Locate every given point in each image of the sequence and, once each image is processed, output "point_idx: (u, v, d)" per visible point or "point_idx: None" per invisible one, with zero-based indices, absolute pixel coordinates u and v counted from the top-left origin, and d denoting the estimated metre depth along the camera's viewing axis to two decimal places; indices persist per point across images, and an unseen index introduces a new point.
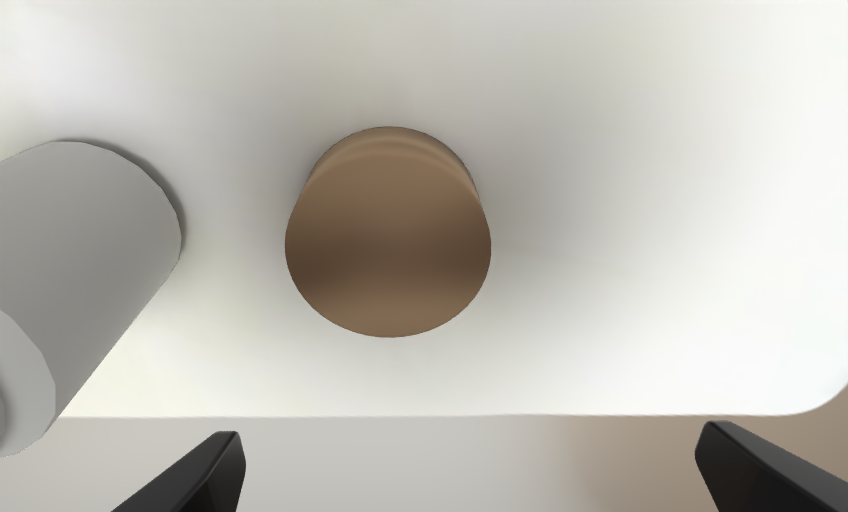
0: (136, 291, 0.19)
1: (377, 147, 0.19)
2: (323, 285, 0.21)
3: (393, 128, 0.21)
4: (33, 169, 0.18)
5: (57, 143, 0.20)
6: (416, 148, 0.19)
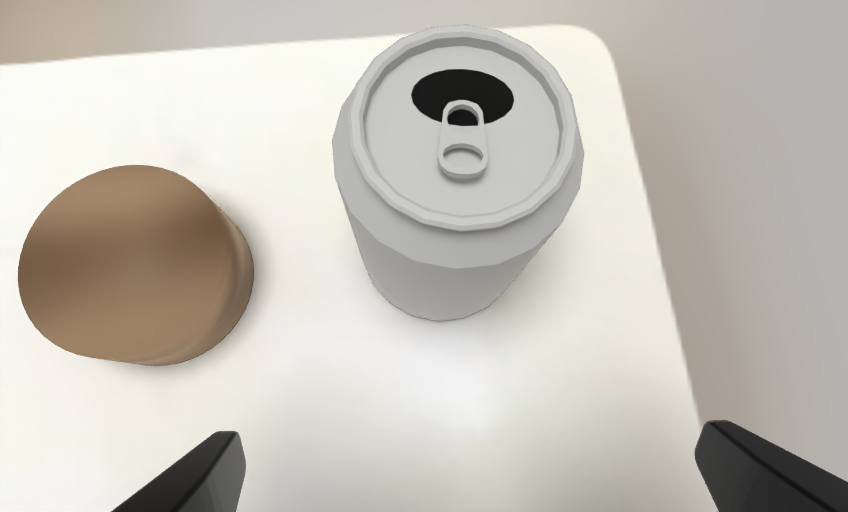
0: None
1: (143, 358, 0.20)
2: (190, 217, 0.21)
3: (160, 365, 0.23)
4: (438, 307, 0.20)
5: (455, 318, 0.23)
6: None
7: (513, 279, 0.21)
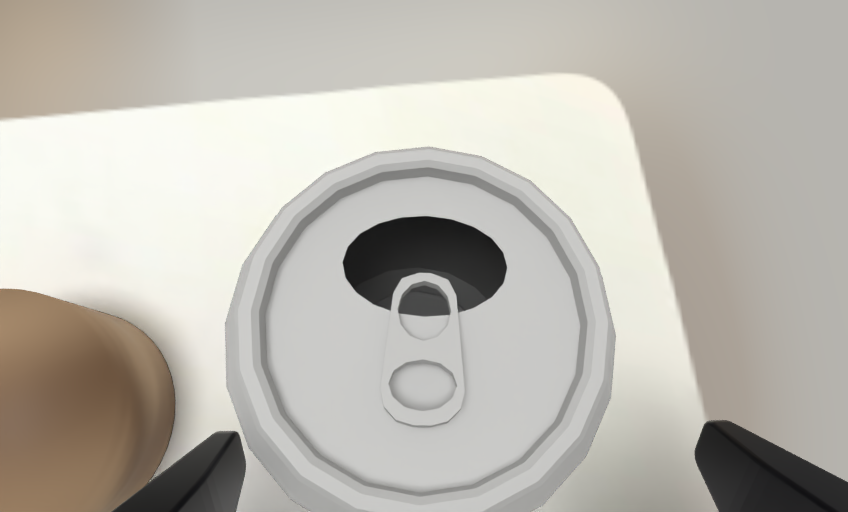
0: None
1: None
2: (71, 363, 0.15)
3: None
4: None
5: None
6: None
7: None
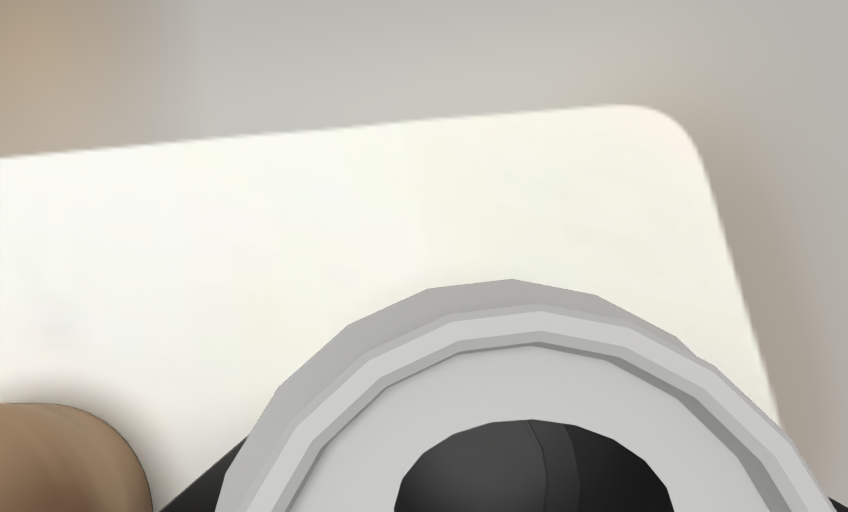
0: None
1: None
2: (10, 506, 0.12)
3: None
4: None
5: None
6: None
7: None
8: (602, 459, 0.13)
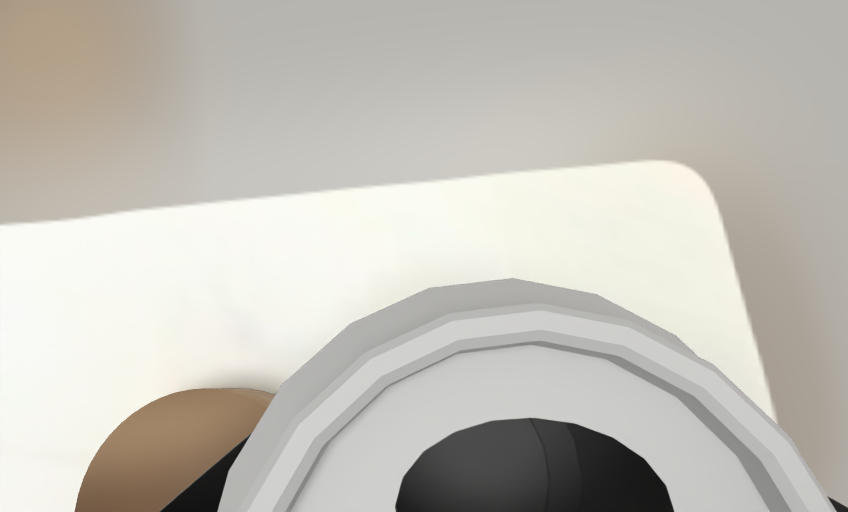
0: None
1: None
2: None
3: None
4: None
5: None
6: None
7: None
8: (604, 458, 0.13)
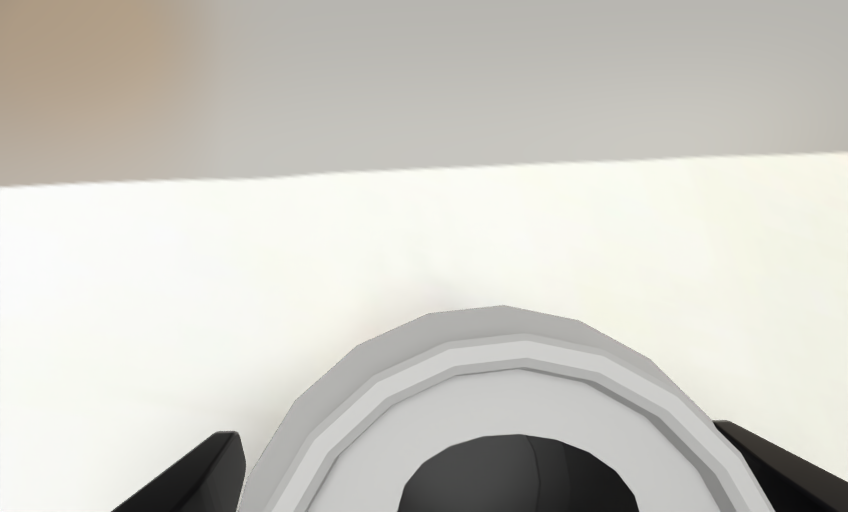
0: None
1: None
2: None
3: None
4: None
5: None
6: None
7: None
8: (590, 464, 0.14)
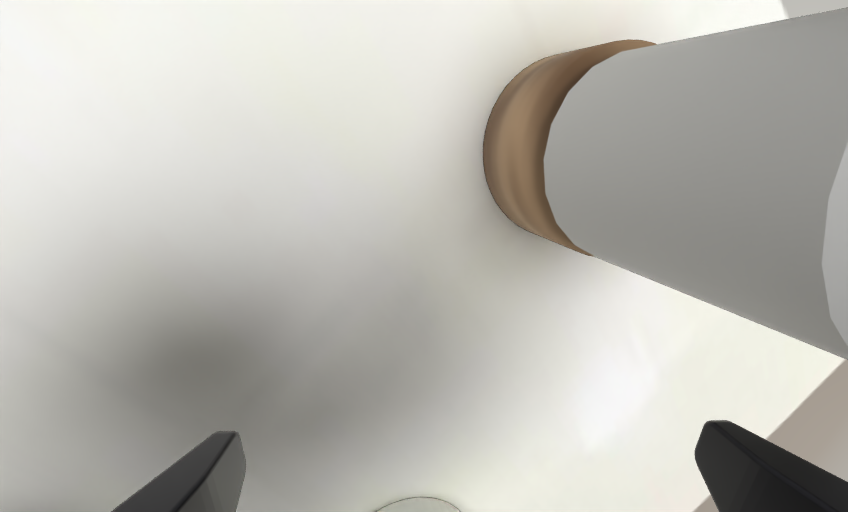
0: (697, 48, 0.13)
1: (538, 228, 0.20)
2: None
3: (502, 208, 0.22)
4: (613, 239, 0.15)
5: (572, 239, 0.18)
6: (517, 199, 0.20)
7: None
8: None
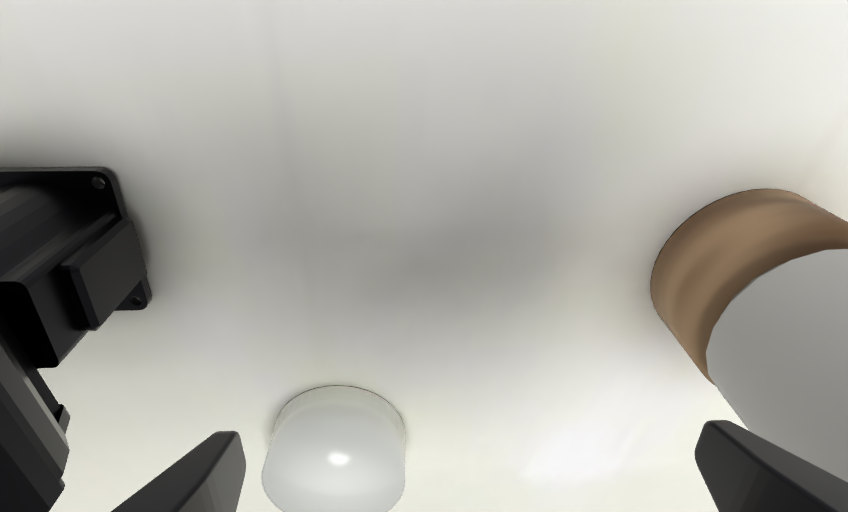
0: None
1: (680, 313, 0.21)
2: None
3: (656, 270, 0.23)
4: (770, 385, 0.16)
5: (711, 348, 0.19)
6: (689, 280, 0.21)
7: None
8: None
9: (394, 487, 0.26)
